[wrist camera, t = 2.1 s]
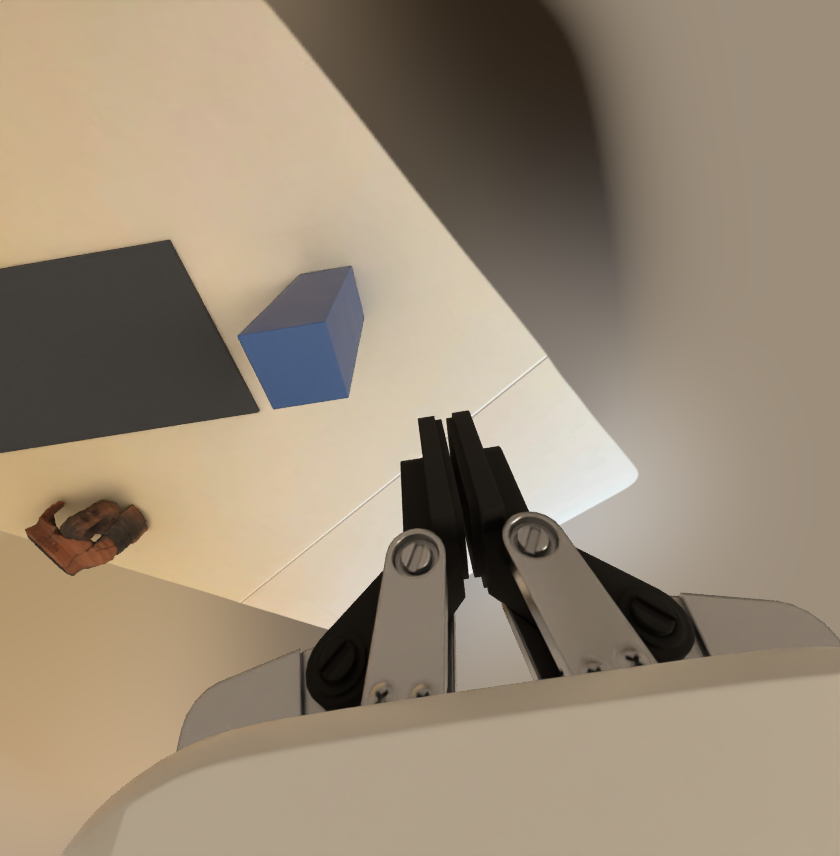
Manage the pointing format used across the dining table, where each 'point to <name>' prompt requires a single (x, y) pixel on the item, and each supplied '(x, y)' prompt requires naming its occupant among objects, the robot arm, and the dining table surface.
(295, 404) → the blue post
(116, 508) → the brown broken pot
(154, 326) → the rubber mat
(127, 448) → the dining table surface
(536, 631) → the robot arm
